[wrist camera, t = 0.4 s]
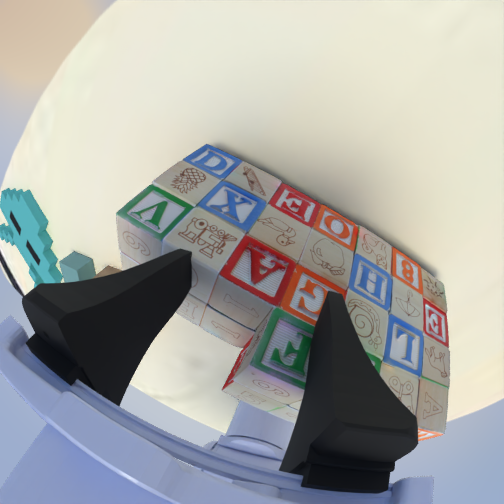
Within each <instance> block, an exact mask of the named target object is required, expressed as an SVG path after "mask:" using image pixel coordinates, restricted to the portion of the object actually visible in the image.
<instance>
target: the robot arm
mask: <svg viewBox="0 0 504 504" xmlns="http://www.w3.org/2000/svg"><path fill="white" fill-rule="evenodd" d="M191 257H192V252H191V251H188V250H184V249H181V248H180V249H177V250H174V251H172V252H169V253H167V254H164V255H162V256H159V257H157V258H155V259H152V260H150V261H147V262H145V263H142V264H140V265H137V266H134V267H132V268H129V269H126V270H123V271H120V272H117V273H114V274H110V275H107V276H103V277H98V278H93V279H88V280H83V281H75V282H66V283H40V284H39V285H37V286H36V287H35V288H34V289H32V290H31V291H30V292H29V293H28V294H26V295H25V296H24V297H23V298H22V304H23V308H24V311H25V313H26V315H27V317H28V319H29V321H30V323H31V325H32V327H33V329H34V331H35V334H34V335H33V336H32V337H31V338H30V339H29V338H28V335H27V333H26V332H25V330H24V329H23V327H22V326H21V325H20V324H19V323H18V322H17V321H16V320H15V319H14V318H13V317H12V316H9V317H8V318H6V319H5V320H4V321H3V322H2V323H1V324H0V373H1V374H2V375H3V376H4V378H5V379H6V380H7V381H8V383H9V384H10V385H11V386H12V387H13V388H14V390H15V391H16V392H17V393H18V394H19V395H20V396H21V397H22V398H23V399H24V401H25V402H27V404H28V405H29V406H30V407H31V408H32V409H33V410H34V411H35V412H36V413H37V414H38V415H39V416H40V417H41V418H42V419H43V420H45V421H46V422H47V425H46V426H45V427H44V429H43V430H42V431H41V432H40V434H39V435H38V436H37V438H36V439H35V440H34V442H33V443H32V444H31V446H30V447H29V449H28V450H27V451H26V453H25V454H24V456H23V457H22V458H21V460H20V461H19V462H18V464H17V465H16V467H15V468H14V470H13V471H12V473H11V474H10V475H9V477H8V478H7V480H6V481H5V483H4V484H3V486H2V487H1V489H0V504H432V500H433V484H434V477H433V476H420V477H408V478H404V479H400V480H398V481H397V482H395V483H389V477H390V472H392V471H393V470H394V468H395V461H397V460H398V459H400V458H402V457H403V456H405V455H406V454H408V453H410V452H411V451H412V450H413V449H414V448H415V447H416V446H417V444H418V423H417V417H416V416H415V415H414V414H413V413H412V412H411V411H410V410H409V409H408V408H407V407H406V406H405V405H404V404H403V403H402V402H401V401H400V400H399V399H398V398H397V396H396V395H395V394H394V393H393V392H392V391H391V389H390V388H389V387H388V385H387V384H386V383H385V381H384V380H383V379H382V377H381V376H380V374H379V373H378V371H377V370H376V368H375V367H374V365H373V364H372V362H371V360H370V358H369V357H368V355H367V353H366V351H365V349H364V347H363V345H362V343H361V341H360V339H359V337H358V334H357V332H356V330H355V327H354V325H353V322H352V320H351V317H350V314H349V312H348V309H347V306H346V303H345V300H344V297H343V295H342V294H340V293H336V292H332V291H329V290H328V293H327V296H326V298H325V301H324V304H323V306H322V309H321V311H320V314H319V317H318V319H317V322H316V324H315V328H314V333H313V337H312V341H311V346H310V354H309V362H308V370H307V377H306V384H305V390H304V395H303V399H302V402H301V406H300V409H299V413H298V416H297V420H296V423H292V422H290V421H287V420H284V419H282V418H279V417H277V416H275V415H272V414H270V413H268V412H267V411H264V410H261V409H259V408H257V407H254V406H252V405H250V404H248V403H246V402H243V401H241V400H240V402H239V404H238V407H237V409H236V411H235V414H234V416H233V419H232V421H231V423H230V426H229V428H228V430H227V433H226V435H225V436H223V435H221V436H220V438H219V441H211V442H210V443H208V444H206V445H205V446H204V447H200V446H198V445H195V444H193V443H191V442H188V441H186V440H184V439H181V438H179V437H177V436H174V435H172V434H170V433H168V432H166V431H164V430H162V429H159V428H158V427H156V426H154V425H152V424H150V423H148V422H146V421H144V420H142V419H140V418H138V417H136V416H135V415H133V414H131V413H129V412H127V411H126V410H124V409H122V408H121V407H119V406H120V403H121V401H122V398H123V396H124V394H125V391H126V389H127V387H128V385H129V383H130V381H131V379H132V377H133V375H134V373H135V371H136V369H137V367H138V365H139V364H140V362H141V360H142V358H143V356H144V355H145V353H146V351H147V350H148V348H149V346H150V345H151V343H152V342H153V340H154V339H155V337H156V336H157V335H158V333H159V332H160V331H161V330H162V328H163V327H164V326H165V324H166V323H167V322H168V321H169V319H170V318H171V317H172V316H173V314H174V313H175V312H176V311H177V309H178V308H179V307H180V306H181V304H182V303H183V301H184V299H185V298H186V296H187V294H188V293H189V291H190V289H191V287H192V263H191ZM294 425H295V426H294ZM175 458H177V459H179V460H181V461H184V462H186V463H188V464H191V465H193V466H194V467H191V466H189V465H187V464H185V463H183V462H181V461H179V460H177V459H175Z"/></svg>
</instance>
